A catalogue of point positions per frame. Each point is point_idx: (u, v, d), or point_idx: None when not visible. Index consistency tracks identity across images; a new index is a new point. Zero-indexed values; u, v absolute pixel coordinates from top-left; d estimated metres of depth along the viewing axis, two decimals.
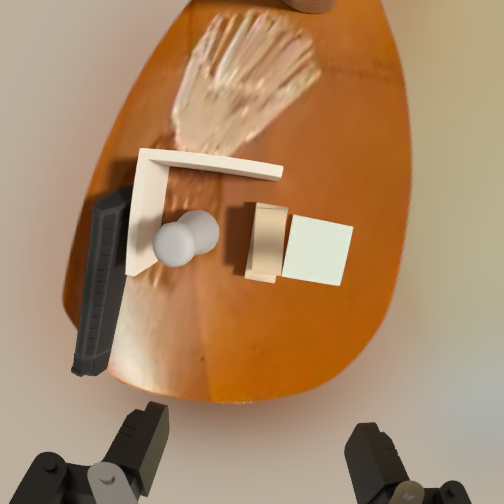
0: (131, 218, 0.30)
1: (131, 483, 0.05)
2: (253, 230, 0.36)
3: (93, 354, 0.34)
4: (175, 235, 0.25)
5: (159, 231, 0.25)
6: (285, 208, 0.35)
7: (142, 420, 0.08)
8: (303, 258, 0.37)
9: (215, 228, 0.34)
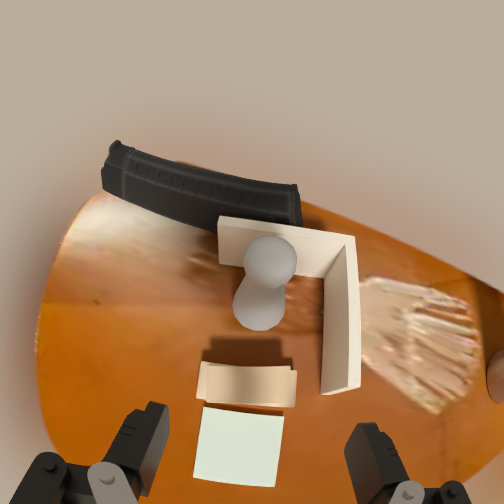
0: (283, 226, 0.29)
1: (131, 483, 0.05)
2: None
3: (127, 170, 0.33)
4: (286, 258, 0.21)
5: (287, 242, 0.22)
6: (293, 404, 0.25)
7: (142, 420, 0.08)
8: (228, 432, 0.24)
9: (267, 325, 0.28)
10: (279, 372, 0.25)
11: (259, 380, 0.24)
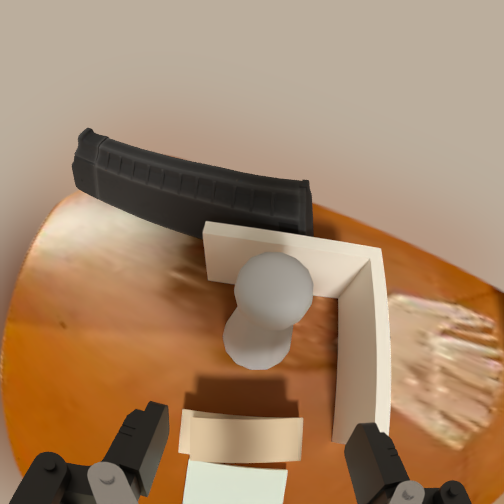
0: (290, 235, 0.22)
1: (131, 483, 0.05)
2: (260, 418, 0.20)
3: (99, 164, 0.26)
4: (298, 289, 0.14)
5: (299, 263, 0.15)
6: (299, 457, 0.18)
7: (142, 420, 0.08)
8: (220, 488, 0.17)
9: (268, 364, 0.21)
10: (283, 426, 0.18)
11: (257, 436, 0.17)
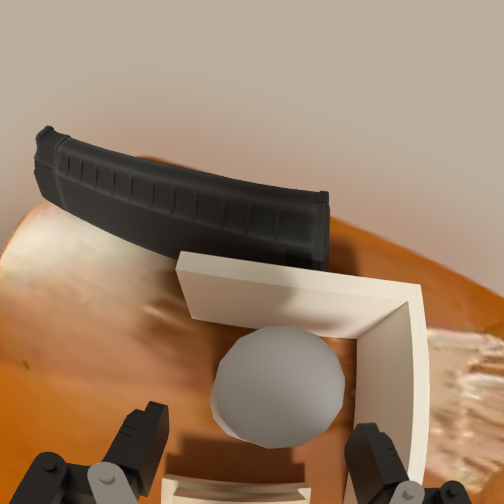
0: (301, 272, 0.15)
1: (131, 483, 0.05)
2: (258, 491, 0.13)
3: (59, 170, 0.19)
4: (322, 398, 0.07)
5: (324, 347, 0.08)
6: None
7: (142, 420, 0.08)
8: None
9: None
10: None
11: None
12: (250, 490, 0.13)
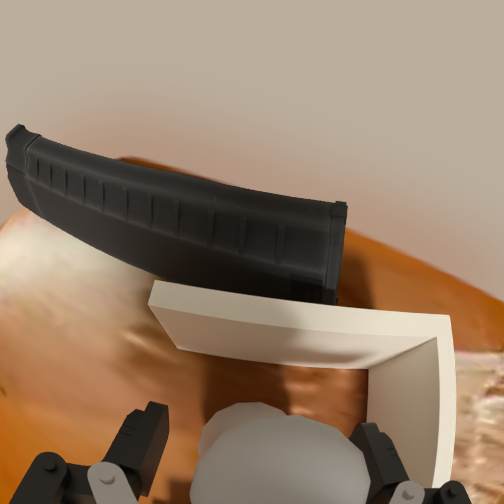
0: (310, 308, 0.12)
1: (131, 483, 0.05)
2: None
3: (30, 174, 0.15)
4: None
5: (347, 448, 0.05)
6: None
7: (142, 420, 0.08)
8: None
9: None
10: None
11: None
12: None
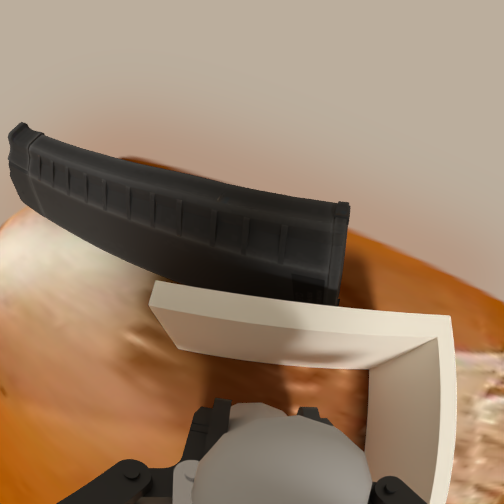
0: (311, 309, 0.12)
1: None
2: None
3: (32, 172, 0.15)
4: None
5: (349, 449, 0.05)
6: None
7: (213, 416, 0.09)
8: None
9: None
10: None
11: None
12: None
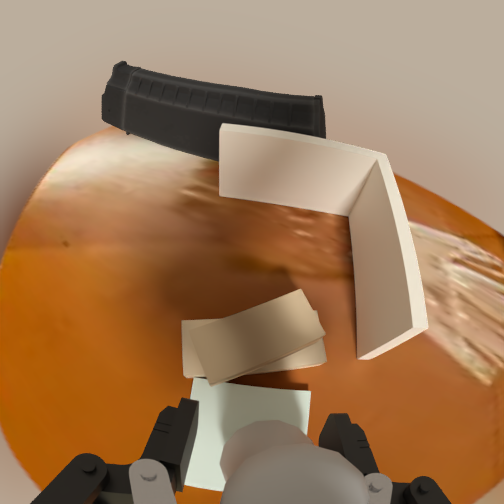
0: (301, 135, 0.22)
1: (171, 478, 0.06)
2: None
3: (130, 90, 0.26)
4: None
5: (349, 472, 0.05)
6: (324, 357, 0.18)
7: (177, 416, 0.09)
8: (230, 416, 0.17)
9: None
10: (291, 302, 0.18)
11: (269, 322, 0.17)
12: None
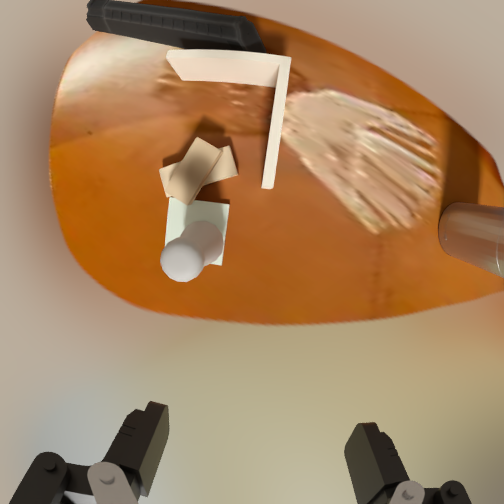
0: (221, 51, 0.26)
1: (131, 483, 0.06)
2: None
3: (106, 16, 0.24)
4: (190, 268, 0.25)
5: (193, 249, 0.25)
6: (235, 172, 0.35)
7: (142, 420, 0.08)
8: (187, 217, 0.38)
9: (205, 265, 0.35)
10: (196, 146, 0.32)
11: (193, 162, 0.33)
12: None
